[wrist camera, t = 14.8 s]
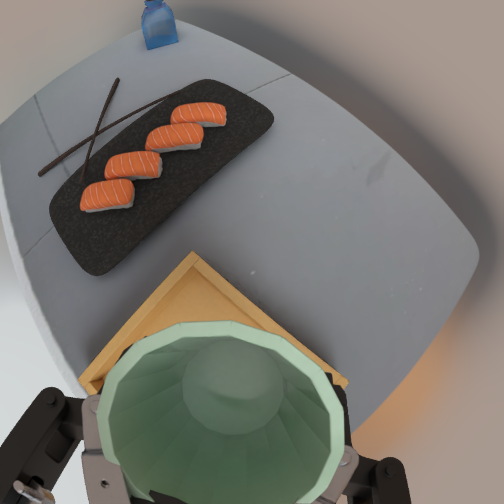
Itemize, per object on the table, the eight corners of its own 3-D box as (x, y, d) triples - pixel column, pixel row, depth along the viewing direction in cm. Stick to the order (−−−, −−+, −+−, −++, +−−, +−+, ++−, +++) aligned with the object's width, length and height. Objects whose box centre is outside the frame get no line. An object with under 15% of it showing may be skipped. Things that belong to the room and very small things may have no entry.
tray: (338, 377, 24) (349, 381, 21) (224, 493, 20) (221, 508, 17) (197, 260, 27) (192, 250, 24) (92, 377, 23) (77, 379, 20)
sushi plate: (102, 291, 26) (84, 284, 22) (23, 160, 32) (12, 147, 28) (283, 127, 33) (286, 106, 30) (152, 58, 39) (148, 42, 36)
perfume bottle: (175, 31, 43) (168, -13, 32) (178, 42, 41) (170, -7, 30) (147, 39, 42) (136, -5, 31) (147, 50, 40) (135, 2, 29)
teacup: (310, 380, 15) (390, 418, 6) (239, 455, 14) (233, 557, 4) (227, 311, 17) (202, 267, 7) (157, 387, 15) (62, 425, 5)
